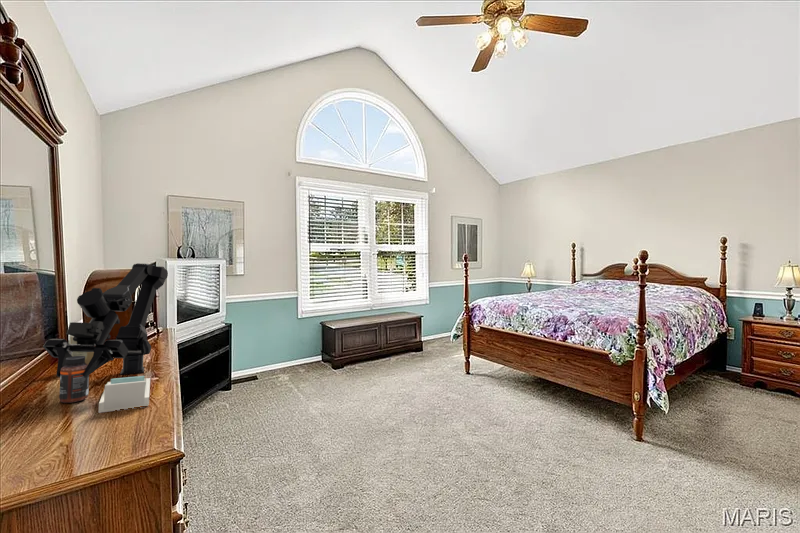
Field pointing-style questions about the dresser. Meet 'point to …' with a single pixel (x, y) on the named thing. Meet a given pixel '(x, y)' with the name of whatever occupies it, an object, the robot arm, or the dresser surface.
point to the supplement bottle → (73, 380)
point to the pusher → (127, 379)
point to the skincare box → (87, 354)
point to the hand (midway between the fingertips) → (71, 376)
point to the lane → (125, 395)
